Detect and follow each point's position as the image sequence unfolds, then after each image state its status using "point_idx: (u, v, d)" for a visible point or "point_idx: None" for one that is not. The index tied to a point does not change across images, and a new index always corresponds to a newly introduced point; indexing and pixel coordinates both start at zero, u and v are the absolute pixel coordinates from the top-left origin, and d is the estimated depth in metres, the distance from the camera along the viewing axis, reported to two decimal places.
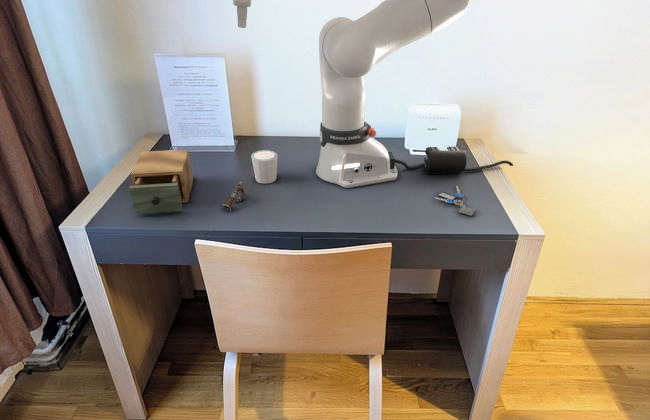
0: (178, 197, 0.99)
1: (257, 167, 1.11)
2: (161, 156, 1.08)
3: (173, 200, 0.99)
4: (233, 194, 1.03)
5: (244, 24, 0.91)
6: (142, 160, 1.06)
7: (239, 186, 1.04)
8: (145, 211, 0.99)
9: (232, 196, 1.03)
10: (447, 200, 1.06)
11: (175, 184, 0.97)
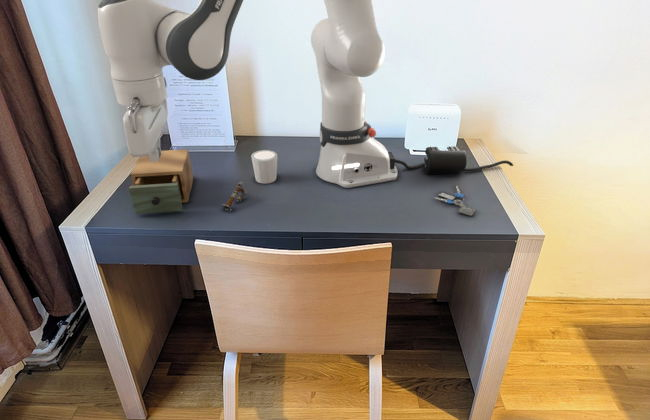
0: (178, 197, 0.99)
1: (257, 167, 1.11)
2: (161, 156, 1.08)
3: (173, 200, 0.99)
4: (233, 194, 1.03)
5: (156, 158, 0.86)
6: (142, 160, 1.06)
7: (239, 186, 1.04)
8: (145, 211, 0.99)
9: (232, 196, 1.03)
10: (447, 200, 1.06)
11: (175, 184, 0.97)
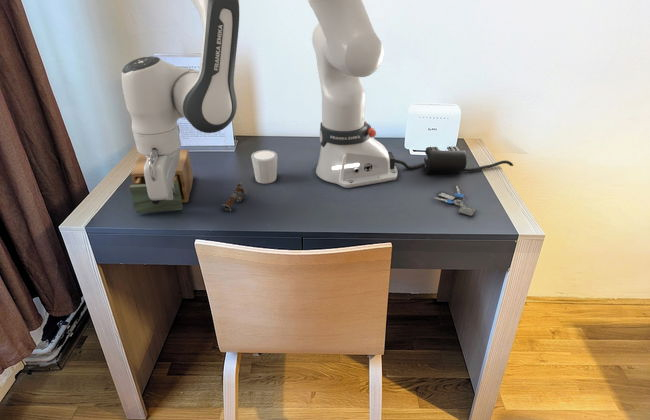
0: (178, 196, 0.99)
1: (257, 167, 1.11)
2: None
3: (173, 199, 0.99)
4: (233, 194, 1.03)
5: (171, 197, 0.95)
6: (142, 160, 1.06)
7: (239, 186, 1.04)
8: (145, 210, 1.00)
9: (232, 196, 1.03)
10: (447, 200, 1.06)
11: (175, 183, 0.98)
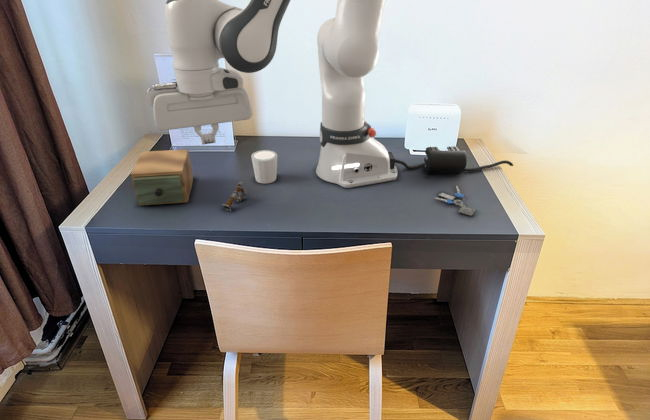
0: (180, 189, 1.02)
1: (257, 167, 1.11)
2: (161, 156, 1.08)
3: (175, 191, 1.02)
4: (233, 194, 1.03)
5: (201, 141, 0.94)
6: (142, 160, 1.06)
7: (239, 186, 1.04)
8: (148, 202, 1.03)
9: (232, 196, 1.03)
10: (447, 200, 1.06)
11: (177, 176, 1.01)
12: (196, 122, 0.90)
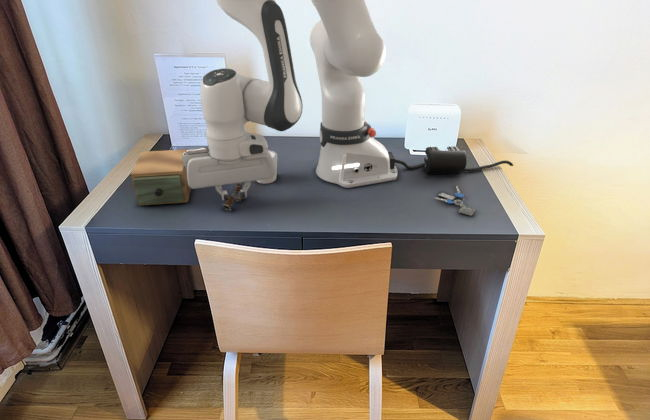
0: (180, 189, 1.02)
1: None
2: (161, 156, 1.08)
3: (175, 191, 1.02)
4: (233, 194, 1.03)
5: None
6: (142, 160, 1.06)
7: (238, 186, 1.04)
8: (148, 202, 1.03)
9: (232, 196, 1.03)
10: (447, 200, 1.06)
11: (177, 176, 1.01)
12: (224, 181, 0.99)
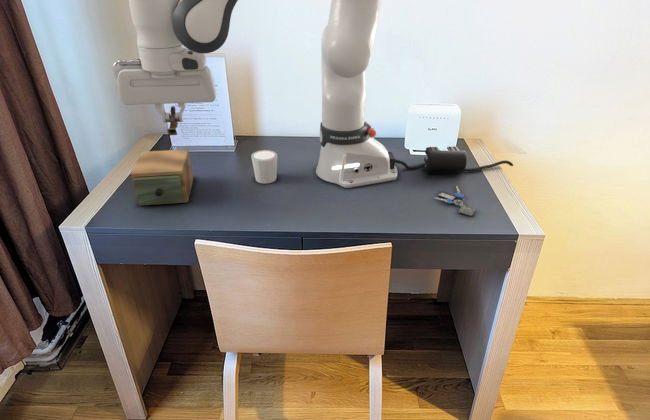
0: (180, 189, 1.02)
1: (257, 167, 1.11)
2: (161, 156, 1.08)
3: (175, 191, 1.02)
4: (172, 118, 0.96)
5: (163, 119, 0.97)
6: (142, 160, 1.06)
7: (173, 110, 0.98)
8: (148, 202, 1.03)
9: (172, 120, 0.96)
10: (447, 200, 1.06)
11: (177, 176, 1.01)
12: (158, 100, 0.93)
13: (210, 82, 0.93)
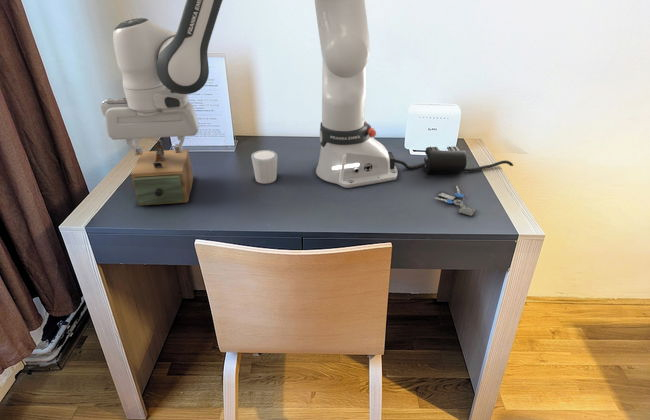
0: (180, 189, 1.02)
1: (257, 167, 1.11)
2: None
3: (175, 191, 1.02)
4: (158, 152, 1.03)
5: (134, 152, 1.03)
6: (142, 160, 1.06)
7: (159, 143, 1.05)
8: (148, 202, 1.03)
9: (158, 154, 1.03)
10: (447, 200, 1.06)
11: (177, 176, 1.01)
12: (144, 134, 1.00)
13: (192, 118, 0.99)
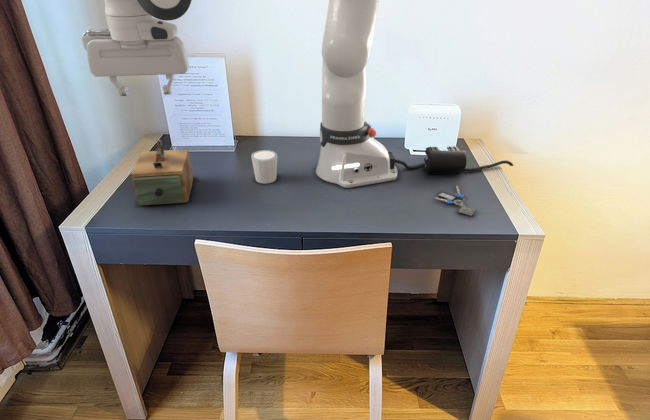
0: (180, 189, 1.02)
1: (257, 167, 1.11)
2: None
3: (175, 191, 1.02)
4: (158, 152, 1.03)
5: None
6: (142, 160, 1.06)
7: (159, 143, 1.05)
8: (148, 202, 1.03)
9: (158, 154, 1.03)
10: (447, 200, 1.06)
11: (177, 176, 1.01)
12: (129, 71, 0.92)
13: (181, 53, 0.91)
